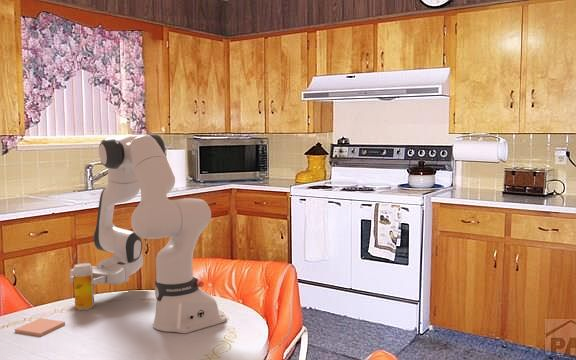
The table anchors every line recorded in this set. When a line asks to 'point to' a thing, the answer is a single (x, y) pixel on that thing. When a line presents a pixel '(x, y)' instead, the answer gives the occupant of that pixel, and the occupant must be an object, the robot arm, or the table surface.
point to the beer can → (83, 286)
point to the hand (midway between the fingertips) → (81, 281)
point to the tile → (40, 327)
